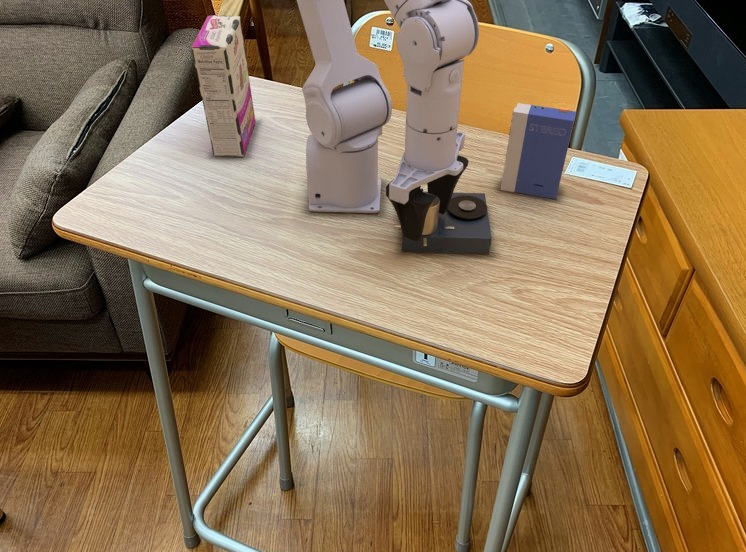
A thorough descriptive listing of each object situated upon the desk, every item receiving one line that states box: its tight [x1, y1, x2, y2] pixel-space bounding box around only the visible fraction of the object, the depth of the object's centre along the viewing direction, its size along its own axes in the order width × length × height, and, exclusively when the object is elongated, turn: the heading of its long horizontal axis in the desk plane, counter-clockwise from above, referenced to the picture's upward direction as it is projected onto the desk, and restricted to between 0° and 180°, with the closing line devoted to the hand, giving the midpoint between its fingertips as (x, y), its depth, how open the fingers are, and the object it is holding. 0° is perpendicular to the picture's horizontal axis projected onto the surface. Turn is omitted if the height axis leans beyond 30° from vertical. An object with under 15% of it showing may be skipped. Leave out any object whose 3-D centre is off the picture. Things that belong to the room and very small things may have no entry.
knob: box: [422, 193, 440, 235], centre depth 81 cm, size 3×3×4 cm
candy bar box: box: [190, 14, 257, 158], centre depth 96 cm, size 11×5×16 cm, turn 179°
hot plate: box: [394, 191, 492, 255], centre depth 85 cm, size 12×12×3 cm
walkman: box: [500, 102, 577, 200], centre depth 89 cm, size 8×3×12 cm, turn 73°
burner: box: [447, 195, 488, 221], centre depth 85 cm, size 5×5×1 cm
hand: (424, 223), depth 82 cm, fingers open, 6 cm apart
